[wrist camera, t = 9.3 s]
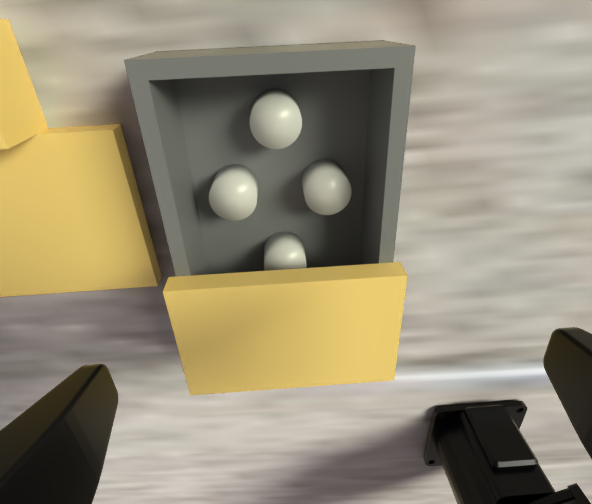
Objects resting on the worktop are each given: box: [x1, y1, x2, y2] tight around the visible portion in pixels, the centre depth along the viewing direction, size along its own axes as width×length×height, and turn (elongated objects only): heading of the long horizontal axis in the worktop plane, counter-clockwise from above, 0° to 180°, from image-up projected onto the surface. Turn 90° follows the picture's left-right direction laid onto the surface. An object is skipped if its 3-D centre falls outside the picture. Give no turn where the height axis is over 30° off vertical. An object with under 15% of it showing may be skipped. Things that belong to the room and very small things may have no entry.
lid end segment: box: [0, 19, 162, 297], centre depth 16 cm, size 12×10×3 cm
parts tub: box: [124, 40, 415, 395], centre depth 17 cm, size 14×10×5 cm
